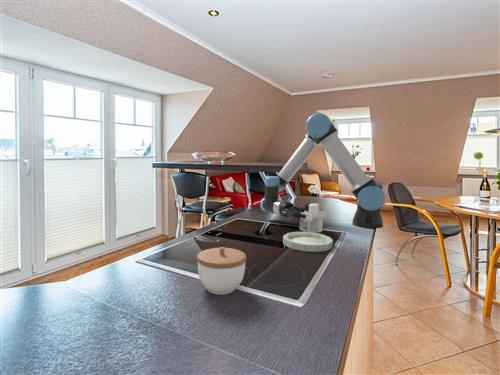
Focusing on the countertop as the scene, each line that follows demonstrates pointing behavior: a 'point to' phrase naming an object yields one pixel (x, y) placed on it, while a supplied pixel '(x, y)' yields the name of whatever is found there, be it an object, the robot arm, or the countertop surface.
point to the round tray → (307, 241)
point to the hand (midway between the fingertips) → (319, 216)
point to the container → (317, 219)
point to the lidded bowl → (221, 269)
